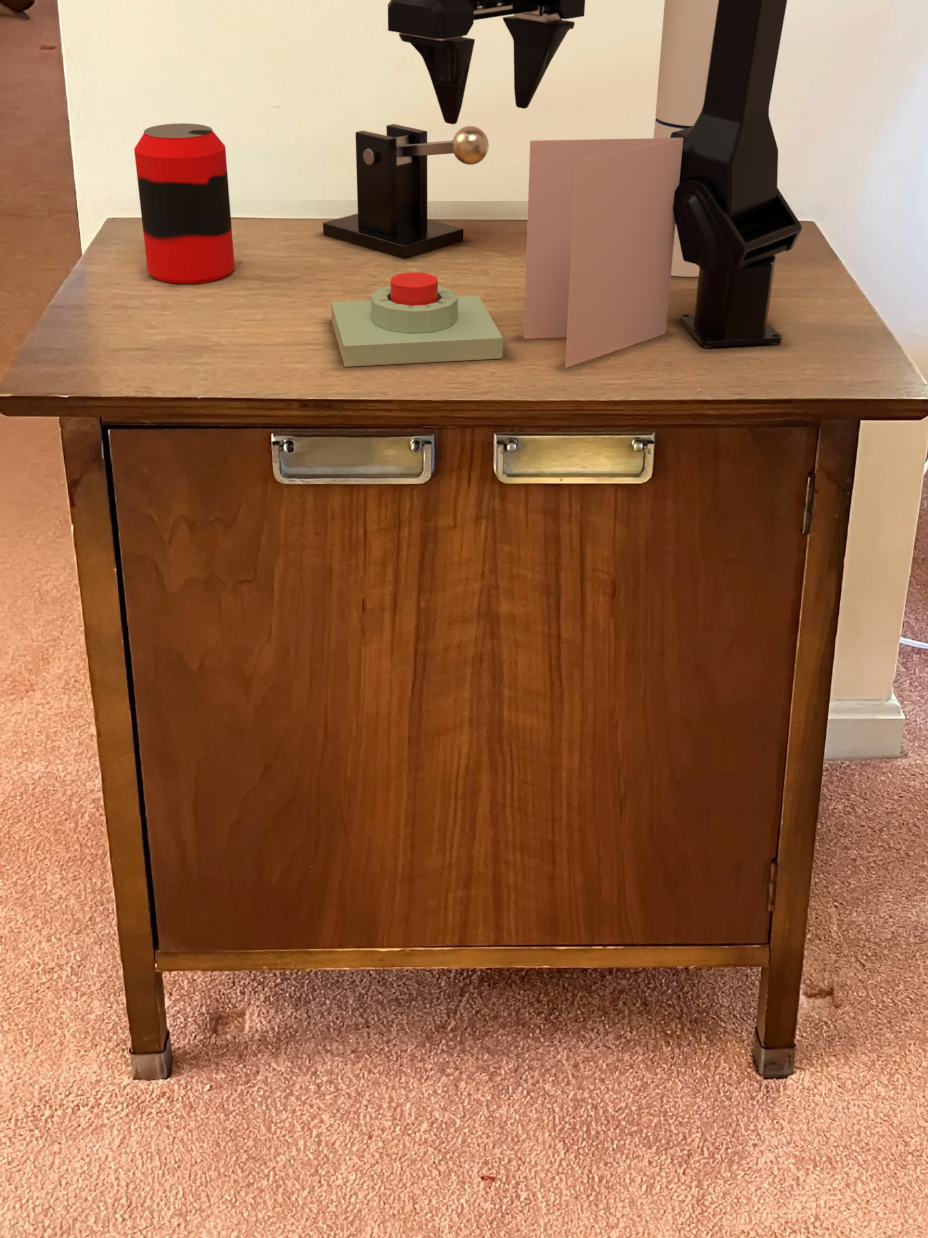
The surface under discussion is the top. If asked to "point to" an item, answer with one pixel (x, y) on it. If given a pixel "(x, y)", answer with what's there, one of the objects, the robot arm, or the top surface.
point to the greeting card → (600, 242)
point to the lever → (447, 147)
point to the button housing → (415, 330)
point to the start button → (414, 289)
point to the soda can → (184, 203)
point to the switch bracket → (392, 200)
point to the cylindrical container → (683, 80)
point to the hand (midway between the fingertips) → (487, 115)
